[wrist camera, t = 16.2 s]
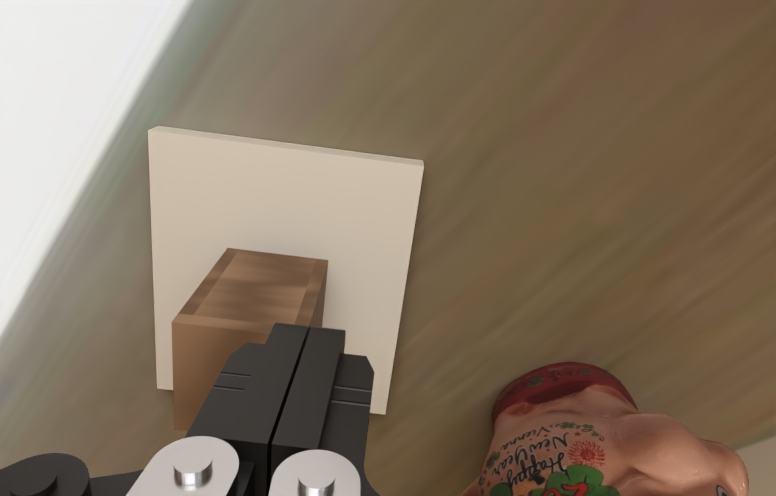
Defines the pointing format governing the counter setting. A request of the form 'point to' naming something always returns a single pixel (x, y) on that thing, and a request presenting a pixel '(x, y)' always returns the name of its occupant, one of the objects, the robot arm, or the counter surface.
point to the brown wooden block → (239, 317)
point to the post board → (285, 229)
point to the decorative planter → (596, 443)
